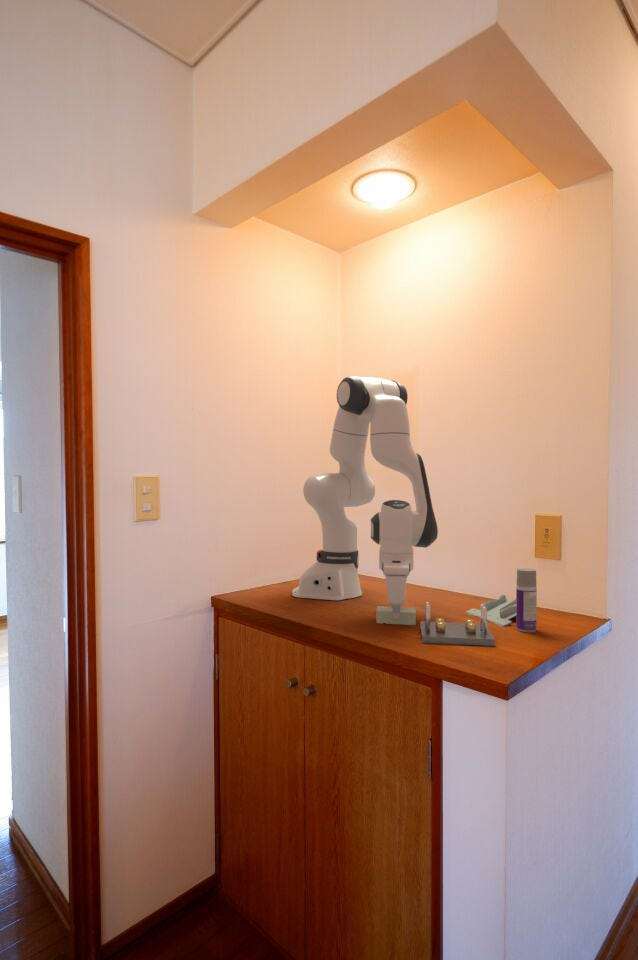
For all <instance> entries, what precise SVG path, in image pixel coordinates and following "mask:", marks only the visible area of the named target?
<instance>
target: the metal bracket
mask: <svg viewBox="0 0 638 960" xmlns="http://www.w3.org/2000/svg"><path fill="white" fill-rule="evenodd" d="M483 604H485V607H487V620H488V621H487V622H490V623H493V624H494V623H495V625H497V624H498V625H497V626H500V627H507V626H509V625H510V624H512V622H513V621H512V620H510V619H512V618H515V617H516V599H514V600H513V599H509V598H507V597H506V595H504V594H501V595H500V596H499V597H498V598H496V599H491V600H488V601H487V602H485V603H483ZM467 613H468V615H470V616H472V615H473V617H476V616H477V618H479V619H480V609H477V608H475V607H474V608H473V607H472V608H471V609H469V610H466V611H465V614H467Z"/></svg>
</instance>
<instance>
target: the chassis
mask: <svg viewBox="0 0 638 960" xmlns="http://www.w3.org/2000/svg"><path fill="white" fill-rule="evenodd" d="M424 604H425V605H424V615H425V616H424V617H425V618H424V620H423V621H421V620H420V622H419V630H420V635H421V641H422V644H434V643H435V644H438V645H458V646H459V645H461V646H482V647H484V646H485V647H495V646H496V638H495V637H494V634H492V631H490V629H489V627H488V621H487V607H485V604H484V603H480V609H479V610H480V618H479V620H480V623H478V622H477V623H476V622H475V620H474V619H471V618H468V619H465V621H464V622H453V621H452V622H447V621H445V618H442V617H437V618H435V621H431V604H430V601H425V602H424Z"/></svg>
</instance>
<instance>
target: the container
mask: <svg viewBox="0 0 638 960" xmlns="http://www.w3.org/2000/svg"><path fill="white" fill-rule="evenodd" d="M515 588H516V591H515V593H516V594H515V595H516V597H515V598H516V616H515V617H516V619H515V620H516V621H515V624H516V625H515V627H516V628H515V629H516V630H517V631H518V630H519V632H521V631H522V632H523V633H536V632H537V610H538V609H537V606H538V605H537V603H538V602H537V595H538V594H537V569H536V568H530V567H519V568H517V569H516V587H515Z"/></svg>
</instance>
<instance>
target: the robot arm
mask: <svg viewBox="0 0 638 960" xmlns="http://www.w3.org/2000/svg"><path fill="white" fill-rule="evenodd" d="M336 401H337V404H338V408H337V412H336V415H335V419H334V423H333V428H332V433H331V440H330V445H329V453H330V455H331V457H332V459H334V460H335V461H336V462H338V466H339V469H338V473H337V472H333V473H332V472H329V473H328V472H327V473H326V472H325V473H324V472H323V473H318V474H314V475H311V476H308V477H307V479H306V480H305V482H304V484H303V489H302V491H303V494H302V495H303V498H304V499H305V502H306V503H307V504H308V505H309V506H310V507H311V508H312V509H313V510H315V513H317V516H318V519H319V520H320V525H321V530H322V531H321V533H322V549H318V550H317V551H316V562H315V563H314V564H312V565H311V566H309V567H308V568H307V569H306V570H305V571H303V573H302V574H301V576H300V577H299V582H298V586H297V587H294V588H293V589H292V590H291V595H292V596H293V597H295V598H301V599H302V598H303V599H315V600H328V601H329V600H330V601H343V600H345V599H353V598H358V597H360V596H362V595H363V592H362V589H361V584H360V578H359V569H358V568H359V566H360V559H359V558H360V554H359V550H358V528H357V525H356V524H355V522H354V521H352V520H350V519H348V517H347V515H346V512H345V508H350V507H351V508H353V507H360V506H365V505H367V504H370V503H371V502H372V501H373V500H374V497H375V494H376V486H375V483H374V481H373V478H371V477H370V474H368V472H367V469H366V464H365V456H366V455H365V454H366V448H367V443H368V442H367V441H368V436H370V437H369V438H370V439H369V440H370V443H369V445H370V450H371V455H372V457H373V458H374V459H375V460H376V462H378V463H379V464H380V465H382V466H383V467H384V468H387V469H391V470H392V471H395V472H398V473H401V474H402V475H404V476H406V477H407V478H408V479H409V481H410V483H411V486H412V490H413V491H412V492H413V496H414V497H413V498H414V502H415V507H416V509H415V510H412V505H411V504H410V502H407V501H405V500H400V499H392V500H391V499H389V500H386V501H383V502H382V504H381V506H380V511H379V512H376V514H374V515H373V516H372V517H371V519H370V539H371V540H372V541H373V542H374V543H376V545H379V546H380V547H379V556H378V557H379V558H378V560H379V563H378V564H379V570H381V572H382V575H384V578H385V585H386V593H387V602H388V605H389V607H392V611H393V619H399V618H400V607H403V606H404V603H405V598H406V590H407V580H408V576H409V575H410V573H411V571H413V570H414V549H413V547H414V548H415V547H416V548H426V549H427V548H428V547H431V545H432V544H433V543H434V542H436V540H437V539H438V533H439V528H438V522H437V519H436V516H435V512H434V508H433V507H434V506H433V503H432V498H431V492H430V487H429V481H428V478H427V472H426V468H425V463H424V461H423V458H422V456H421V454H419V453H417V452H416V451H415V450H414V447H413V445H412V442H411V436H410V434H411V433H410V432H411V430H410V420H409V413H408V408H407V404H408V391H407V388H406V387H405V385H403V384H402V383H401V382H398V381H395V380H389V379H385V378H381V377H367V376H365V377H363V376H358V375H350V376H347V377H344V378H342V379H341V381H340V383H339V384H338V385H337V389H336Z"/></svg>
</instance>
